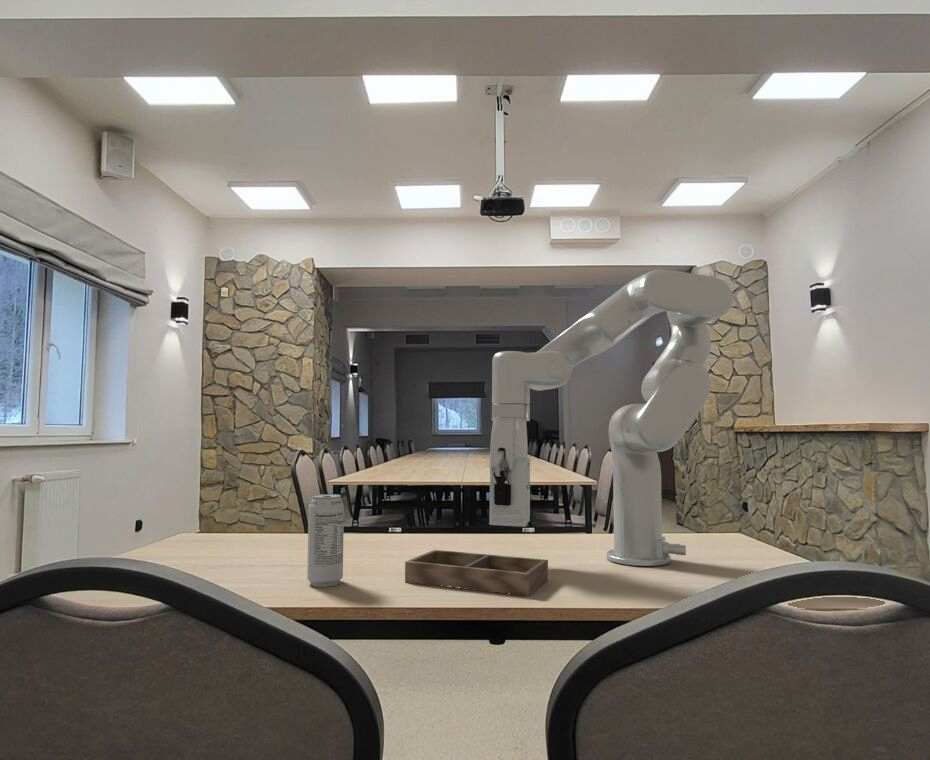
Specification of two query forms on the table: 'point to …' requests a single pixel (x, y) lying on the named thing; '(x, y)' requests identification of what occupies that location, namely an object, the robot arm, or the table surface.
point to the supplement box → (513, 497)
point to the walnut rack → (478, 571)
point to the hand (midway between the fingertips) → (510, 502)
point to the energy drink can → (325, 540)
